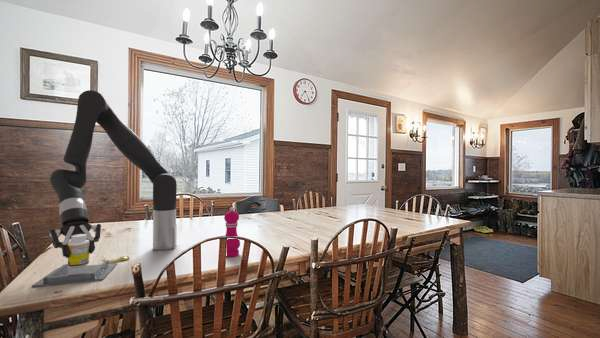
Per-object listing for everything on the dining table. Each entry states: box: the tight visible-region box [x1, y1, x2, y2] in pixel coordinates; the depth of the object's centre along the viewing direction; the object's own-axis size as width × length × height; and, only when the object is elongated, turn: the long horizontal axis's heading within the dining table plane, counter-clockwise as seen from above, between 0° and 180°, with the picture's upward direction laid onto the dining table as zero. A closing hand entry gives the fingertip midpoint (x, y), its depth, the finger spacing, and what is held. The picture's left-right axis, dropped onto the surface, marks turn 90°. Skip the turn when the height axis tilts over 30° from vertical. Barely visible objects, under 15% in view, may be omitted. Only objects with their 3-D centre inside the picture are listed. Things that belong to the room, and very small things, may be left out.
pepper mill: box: [223, 206, 241, 258], centre depth 112 cm, size 7×7×20 cm
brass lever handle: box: [107, 255, 130, 264], centre depth 103 cm, size 7×3×1 cm, turn 143°
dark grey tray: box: [31, 260, 118, 288], centre depth 89 cm, size 18×14×2 cm
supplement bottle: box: [67, 234, 90, 268], centre depth 89 cm, size 6×6×10 cm
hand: (79, 254), depth 88 cm, fingers closed on supplement bottle, 5 cm apart
